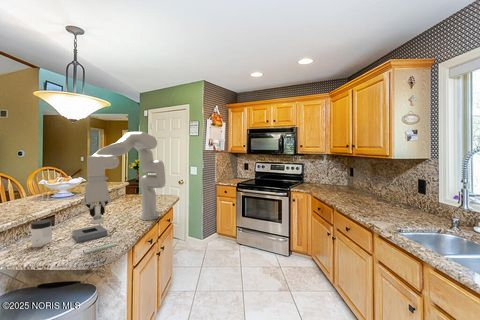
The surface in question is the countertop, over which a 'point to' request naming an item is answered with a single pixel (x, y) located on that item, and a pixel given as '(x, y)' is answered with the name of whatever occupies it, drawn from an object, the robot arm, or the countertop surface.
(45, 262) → the countertop surface
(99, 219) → the grey rounded knob
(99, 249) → the mat
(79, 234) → the housing
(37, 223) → the jar
